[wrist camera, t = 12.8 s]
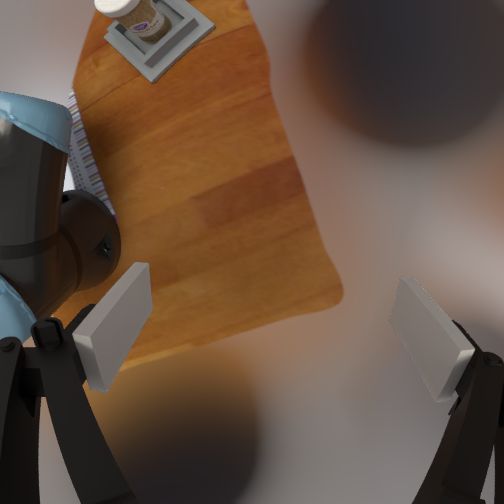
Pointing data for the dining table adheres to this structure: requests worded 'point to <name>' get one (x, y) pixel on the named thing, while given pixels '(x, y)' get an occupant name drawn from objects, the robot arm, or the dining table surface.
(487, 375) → the robot arm
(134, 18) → the spice jar
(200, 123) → the dining table surface
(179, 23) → the holder
